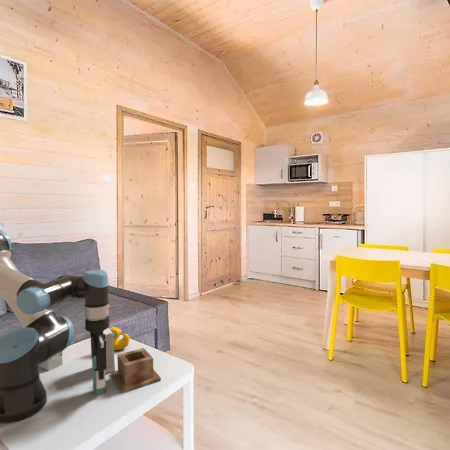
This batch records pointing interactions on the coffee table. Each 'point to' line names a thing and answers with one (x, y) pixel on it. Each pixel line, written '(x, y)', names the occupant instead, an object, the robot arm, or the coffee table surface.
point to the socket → (134, 370)
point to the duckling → (116, 342)
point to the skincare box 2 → (109, 351)
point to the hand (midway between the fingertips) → (99, 384)
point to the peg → (95, 390)
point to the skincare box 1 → (52, 362)
